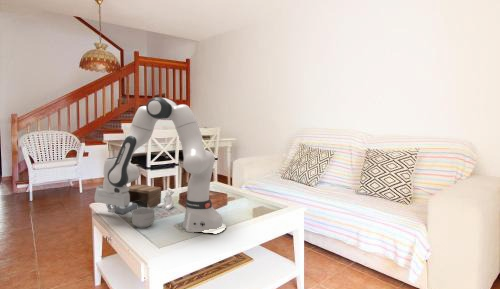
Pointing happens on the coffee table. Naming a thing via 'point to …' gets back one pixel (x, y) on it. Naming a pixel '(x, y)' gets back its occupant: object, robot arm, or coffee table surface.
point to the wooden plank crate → (145, 194)
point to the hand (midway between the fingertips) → (111, 212)
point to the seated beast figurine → (167, 200)
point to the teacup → (143, 217)
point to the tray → (126, 208)
